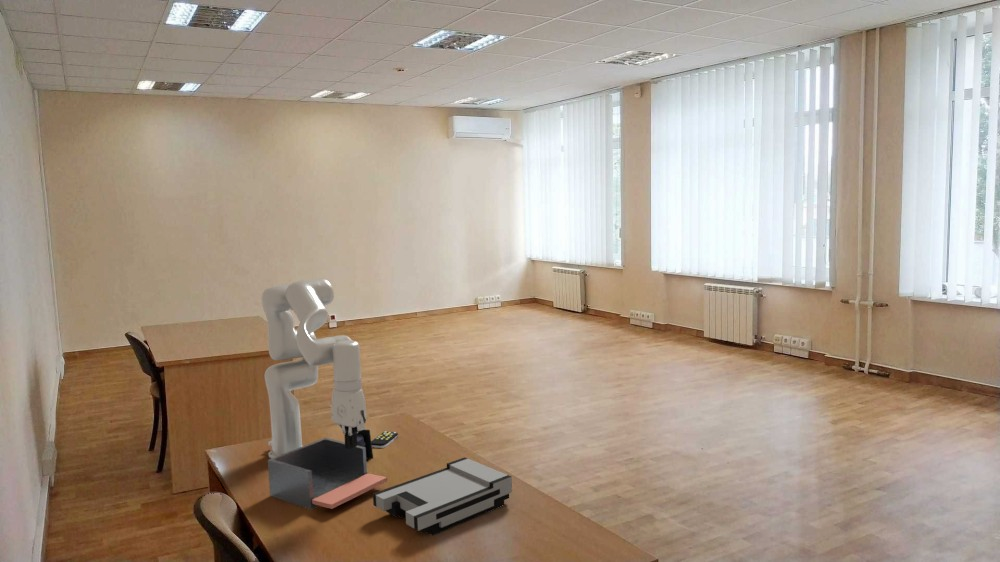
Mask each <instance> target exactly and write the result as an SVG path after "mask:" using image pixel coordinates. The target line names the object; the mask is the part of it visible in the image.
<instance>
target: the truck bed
mask: <svg viewBox="0 0 1000 562" xmlns="http://www.w3.org/2000/svg"><path fill="white" fill-rule="evenodd" d="M267 468H268V469H267V470H268V481H269V483H268V484H269V496H270V497H271V498H272V497H273V498H276V499H278V500H281V501H284V502H286V503H290V504H293V505H296V506H298V507H301V506H302V507H301V508H304V507H306V508H305V509H307V508H309V509H308V510H310V509H313V508H315V507H317V506H319V505H315V504H312V499H315V498H317V497H319V496H321V495H323V494H325V493H327V492H329V491H331V490H334V489H336V488H338V487H340V486H342V485H344V484H346V483H348V482H351V481H353V480H355V479H357V478H359V477H361V476H363V475H365V474H367V473H368V470H367V469H368V465H367V458H366V447H362V446H358V445H357V446H356V447H354V448H351V449H348V448H345V441H341V440H337V439H332V438H329V437H324V438H321V439H318V440H316V441H313V442H311V443H308V444H305V445H303V446H302V447H300V448H297V449H295V450H292V451H290V452H287V453H285V454H282V455H279V456H277V457H274V458H272V459H270V458H269V459H268V460H267ZM319 507H320V506H319ZM317 508H318V507H317ZM315 509H316V508H315ZM313 510H314V509H313Z"/></svg>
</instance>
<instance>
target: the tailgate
mask: <svg viewBox="0 0 1000 562" xmlns="http://www.w3.org/2000/svg"><path fill="white" fill-rule="evenodd" d="M387 482H388V477H387V476H383V475H377V474H373V473H368V472H367V474H365V475H363V476H361V477H359V478H357V479H355V480H353V481H351V482H348V483H346V484H344V485H342V486H340V487H338V488H336V489H334V490H331V491H329V492H327V493H325V494H323V495H321V496H319V497H317V498H315V499H312V504H315V505H319V507H323V508H327V509H331V510H333V509H334V508H337V507H338V506H340V505H342V504H344V503H347V502H349V501H351V500H353V499H354V498H356V497H358V496H361V495H362V494H365V493H367V492H369V491H370V490H373V489H375V488H376V487H378V486H380V485H382V484H384V483H387Z"/></svg>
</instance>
